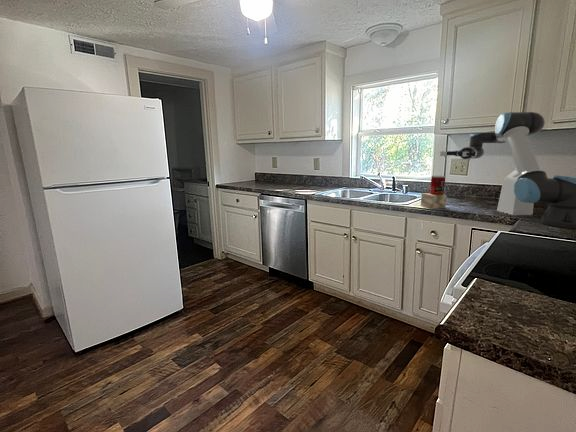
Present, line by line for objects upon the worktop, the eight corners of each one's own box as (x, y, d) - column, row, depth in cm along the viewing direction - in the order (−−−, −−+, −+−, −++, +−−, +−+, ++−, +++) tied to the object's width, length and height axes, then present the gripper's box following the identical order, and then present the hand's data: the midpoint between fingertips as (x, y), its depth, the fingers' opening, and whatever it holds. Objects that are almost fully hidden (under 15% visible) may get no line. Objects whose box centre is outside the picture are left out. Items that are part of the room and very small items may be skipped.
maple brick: (434, 204, 202) (435, 192, 200) (445, 207, 193) (446, 195, 191) (420, 205, 200) (421, 193, 198) (431, 208, 190) (432, 195, 189)
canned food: (435, 195, 190) (436, 176, 188) (427, 193, 198) (428, 175, 196) (446, 194, 192) (448, 176, 189) (438, 192, 199) (439, 175, 197)
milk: (532, 214, 172) (540, 167, 167) (512, 215, 172) (520, 167, 166) (515, 210, 184) (522, 165, 178) (496, 210, 183) (503, 165, 177)
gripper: (488, 159, 196) (472, 161, 184) (448, 158, 216) (431, 159, 203) (489, 147, 194) (474, 147, 182) (449, 147, 214) (432, 147, 202)
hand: (451, 154), depth 193 cm, fingers open, 13 cm apart
